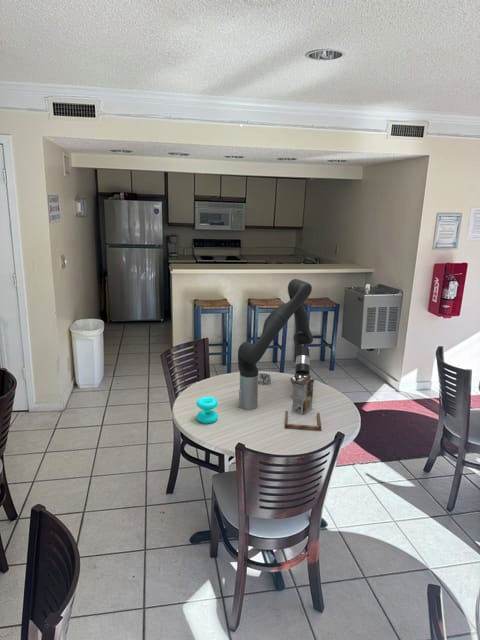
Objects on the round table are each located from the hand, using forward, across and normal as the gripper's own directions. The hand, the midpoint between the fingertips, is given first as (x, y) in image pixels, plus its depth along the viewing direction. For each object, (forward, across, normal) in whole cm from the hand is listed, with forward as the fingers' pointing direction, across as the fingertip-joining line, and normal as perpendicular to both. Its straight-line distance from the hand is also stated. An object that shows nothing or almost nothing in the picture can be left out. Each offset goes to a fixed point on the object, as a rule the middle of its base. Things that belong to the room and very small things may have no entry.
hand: (302, 396), depth 225 cm
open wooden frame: (+17, 0, -11) cm, 20 cm away
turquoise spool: (+20, -45, -14) cm, 51 cm away
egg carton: (-15, -21, +22) cm, 34 cm away
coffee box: (+8, 0, -3) cm, 9 cm away
